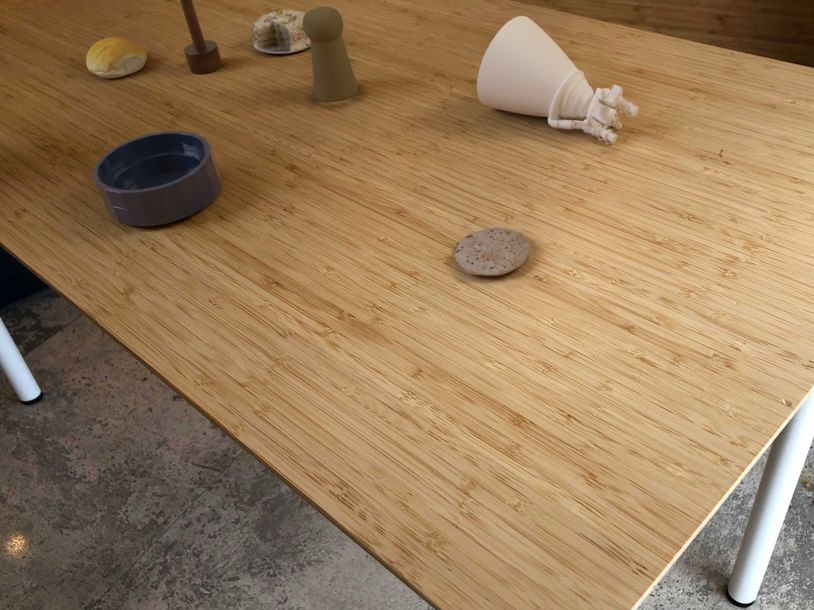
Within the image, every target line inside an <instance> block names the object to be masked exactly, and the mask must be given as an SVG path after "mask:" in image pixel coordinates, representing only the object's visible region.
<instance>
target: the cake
mask: <svg viewBox="0 0 814 610" xmlns="http://www.w3.org/2000/svg"><path fill="white" fill-rule="evenodd" d="M305 14H306V12H303V11H300V10H299V11H297V10H293V9H283V8H278V9H276V10H275V11H272V12H269V13H266V14H265V13H263V14H262V15H261V16H259V17H257V18H256V20H255V21H253V23H252V29H251V32H252V37H253V38H252V47H253V48H254V49H255V50H257V51H259V52H262V53H267V54H278V55H279V54H291V53H296V52H299V51H303V50H306V49H308V48H311V44H310V39H309V38H308V37H307V35H306V34H305V32H304V29H303V18H304V15H305Z"/></svg>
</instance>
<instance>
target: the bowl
mask: <svg viewBox="0 0 814 610" xmlns="http://www.w3.org/2000/svg"><path fill="white" fill-rule="evenodd" d="M91 177H92V179H93V182H94V183H95V186H96V188H97V190H98V192H99V194H100V197H101V199H102V202H103V204H104V206H105V208H106V211H107V213H108V214H109V217H110V218H112V219H113V220H115V221H116V222H118V223H120V224H123V225H127V226H132V227H155V226H162V225H167V224H171V223H175V222H179V221H181V220H183V219H186V218H188V217H191V216H192V215H194V214H196V213H198V212H199V211H201V210H202V209H204V208H206V207H207V206H208V205H209V204H210V203H211V202H213V200H215V199H216V197H217V196H218V194H219V192H220V191H221V189H222V176H221V173H220V170H219V166H218V163H217V160H216V156H215V154H214V151H213V149H212V145H211V144H210V143H209V141H208V139H206V138H205V137H204V136H202V135H199V134H198V133H195V132H189V131H184V130H163V131H158V132H152V133H147V134H144V135H140V136H137V137H134V138H131V139H128V140H127V141H124V142H122V143H120V144H118V145H116V146H114V147H112V148H111V149H110V150H109V151H107V152H106V153H105V154H103V155H102V156H101V157H100V158H99V159H98V160H97V162H96V163H95V164H94V166H93V170H92V174H91Z"/></svg>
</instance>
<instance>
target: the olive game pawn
mask: <svg viewBox="0 0 814 610" xmlns="http://www.w3.org/2000/svg"><path fill="white" fill-rule="evenodd" d="M303 29H304V32H305V34H306V35H307V37H308V38H309V39H310V44H311V47H310V55H311V67H312V78H313V79H312V80H313V89H314V90H313V92H314V97H315V98H316V99H318V100H319V101H323V102H340V101H344V100H347V99H349V98H351V97H353V96H354V95H355V94H357V92H358V91H359V85H358V82H357V79H356V76H355V73H354V70H353V67H352V63H351V61H350V57H349V54H348V51H347V48H346V45H345V43H344V39H343V36H342V33H343V30H344V19H343V17H342V14H341V13H340V12H339V10H338V9H337V8H334V7H331V6H320V7H314V8H312V9H309V10H308V11H307V12H305V15H304V18H303Z"/></svg>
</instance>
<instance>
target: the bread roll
mask: <svg viewBox="0 0 814 610" xmlns="http://www.w3.org/2000/svg"><path fill="white" fill-rule="evenodd" d="M147 57H148V56H147V52H146V51H145V49H144V48H143V47H142V46H141V45H139V44H137V43H134V42H132V41H130V40H128V39H126V38H123V37H121V36H111V37H106V38H103V39H100V40H98V41H96V42H95V43H94V44H93V45H92V46H91V47H90V48H89V50H88V52H87V54H86V59H85V64H86V67H87V69H88V71H89V72H90V73H91V74H93V75H95V76H97V77H99V78H102V79H107V80H108V79H109V80H111V79H117V78H122V77H126V76H128V75H132V74H134V73H137V72H138V71H140V70H142V69H143V68H144V66H145V64H146V63H147V62H146V61H147V59H148V58H147Z"/></svg>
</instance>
